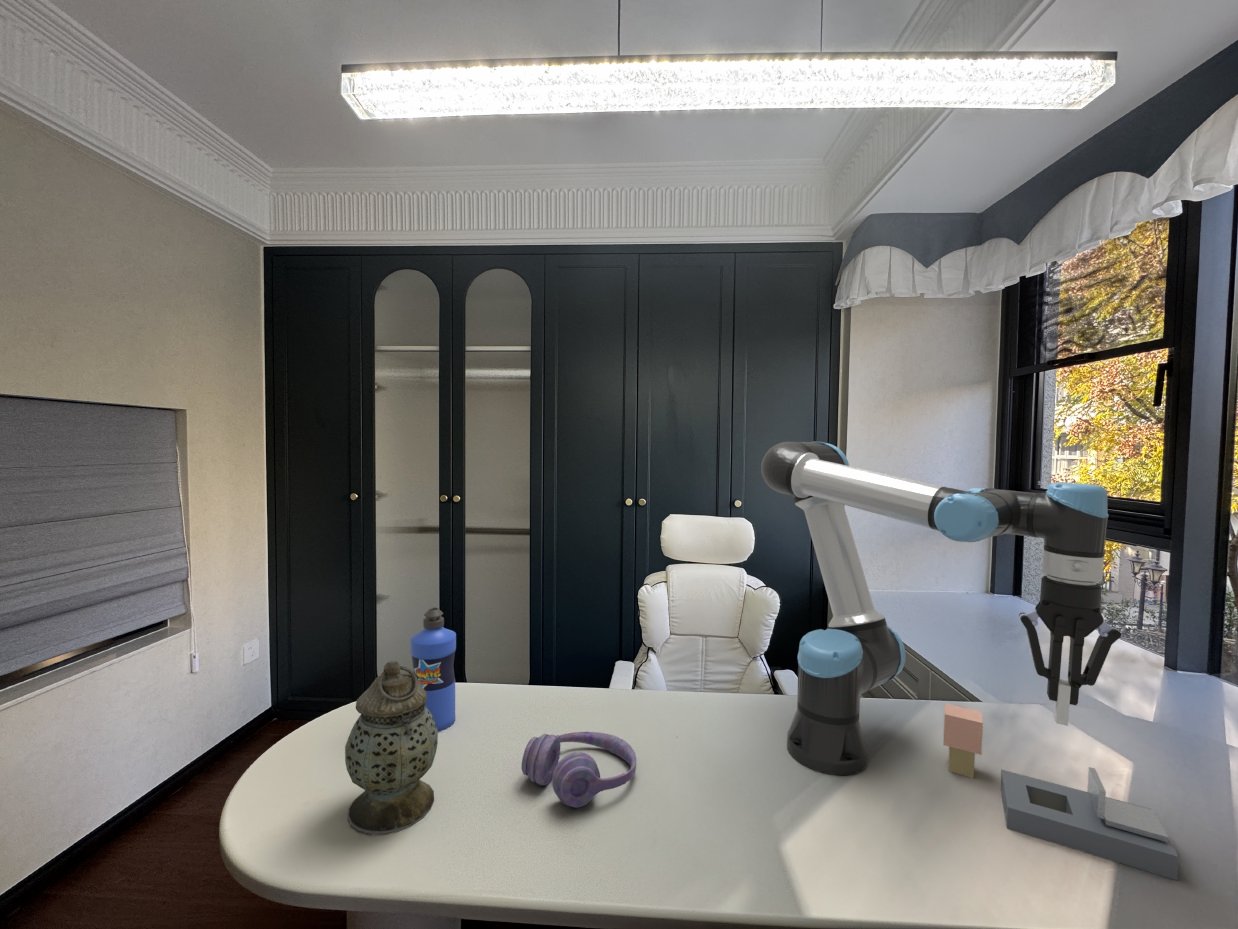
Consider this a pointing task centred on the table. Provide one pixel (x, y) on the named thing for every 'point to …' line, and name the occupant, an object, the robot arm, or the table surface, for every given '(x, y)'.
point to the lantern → (391, 754)
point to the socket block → (1079, 824)
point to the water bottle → (436, 667)
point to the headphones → (575, 765)
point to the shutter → (1123, 812)
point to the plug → (962, 738)
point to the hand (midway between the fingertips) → (1060, 720)
